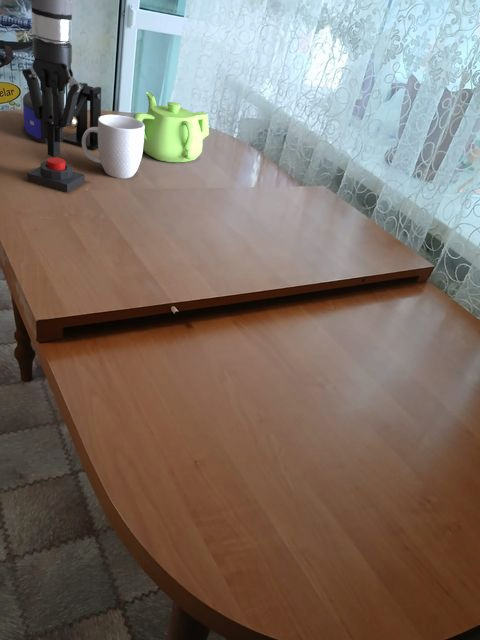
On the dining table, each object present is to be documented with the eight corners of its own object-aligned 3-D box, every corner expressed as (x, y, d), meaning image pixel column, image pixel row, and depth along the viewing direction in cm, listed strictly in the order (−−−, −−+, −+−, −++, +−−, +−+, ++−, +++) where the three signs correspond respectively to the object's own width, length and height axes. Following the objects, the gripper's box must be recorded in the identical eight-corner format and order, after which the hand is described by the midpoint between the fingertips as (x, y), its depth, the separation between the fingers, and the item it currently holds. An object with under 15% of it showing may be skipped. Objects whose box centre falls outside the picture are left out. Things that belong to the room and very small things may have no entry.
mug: (77, 175, 134) (76, 120, 126) (86, 160, 143) (86, 108, 135) (138, 185, 136) (141, 132, 129) (144, 170, 145) (147, 119, 137)
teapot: (193, 172, 151) (199, 118, 143) (123, 155, 151) (125, 100, 142) (207, 153, 166) (213, 103, 158) (143, 137, 166) (146, 87, 158)
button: (43, 168, 125) (43, 160, 124) (53, 163, 128) (52, 155, 127) (59, 172, 124) (59, 165, 123) (68, 167, 128) (68, 160, 126)
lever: (75, 133, 142) (71, 123, 139) (63, 129, 143) (59, 119, 140) (98, 96, 148) (95, 86, 145) (86, 93, 148) (83, 82, 145)
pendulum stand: (92, 151, 149) (93, 94, 140) (62, 143, 149) (61, 85, 141) (113, 141, 158) (114, 87, 150) (84, 133, 159) (84, 78, 150)
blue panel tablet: (20, 124, 154) (18, 89, 149) (37, 125, 156) (35, 90, 151) (31, 145, 144) (28, 107, 138) (49, 145, 146) (48, 108, 140)
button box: (27, 182, 125) (26, 165, 123) (46, 172, 132) (46, 156, 129) (67, 193, 125) (67, 177, 122) (84, 183, 131) (84, 167, 129)
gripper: (91, 46, 113) (88, 158, 127) (33, 29, 114) (37, 142, 128) (72, 49, 107) (71, 167, 121) (11, 31, 108) (17, 150, 122)
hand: (53, 154), depth 124 cm, fingers closed
